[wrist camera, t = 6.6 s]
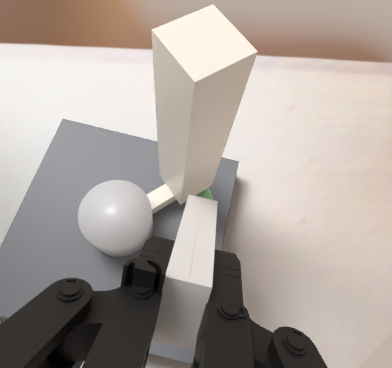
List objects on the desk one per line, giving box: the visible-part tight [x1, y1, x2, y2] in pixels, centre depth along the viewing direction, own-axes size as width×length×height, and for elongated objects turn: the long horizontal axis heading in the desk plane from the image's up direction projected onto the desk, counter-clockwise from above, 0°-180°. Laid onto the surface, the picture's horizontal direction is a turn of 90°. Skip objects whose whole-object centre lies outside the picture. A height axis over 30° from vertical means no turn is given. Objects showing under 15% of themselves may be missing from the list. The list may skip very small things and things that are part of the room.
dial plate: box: [0, 119, 239, 364], centre depth 21 cm, size 13×13×2 cm
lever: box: [78, 5, 257, 257], centre depth 14 cm, size 8×4×12 cm, turn 125°
